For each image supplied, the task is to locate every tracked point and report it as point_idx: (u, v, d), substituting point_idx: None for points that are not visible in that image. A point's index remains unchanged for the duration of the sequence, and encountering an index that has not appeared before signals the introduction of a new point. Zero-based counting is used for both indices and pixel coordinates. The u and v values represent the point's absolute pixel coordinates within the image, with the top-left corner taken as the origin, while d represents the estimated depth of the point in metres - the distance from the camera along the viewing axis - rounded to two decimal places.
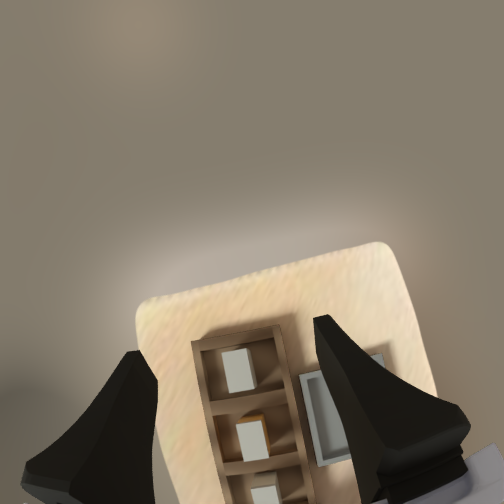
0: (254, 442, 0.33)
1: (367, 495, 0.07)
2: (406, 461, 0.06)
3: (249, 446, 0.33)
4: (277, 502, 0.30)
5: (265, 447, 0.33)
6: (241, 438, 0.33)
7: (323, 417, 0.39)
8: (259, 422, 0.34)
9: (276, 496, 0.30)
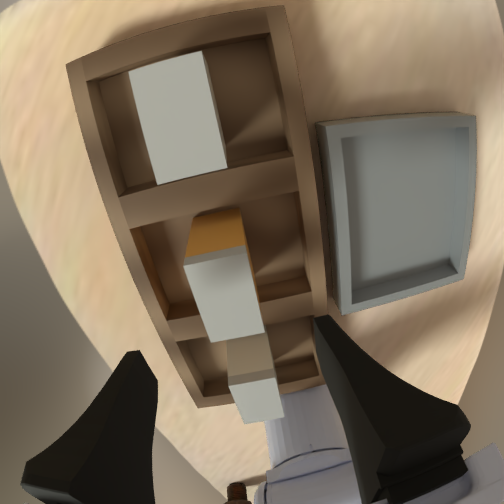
0: (231, 303, 0.16)
1: (367, 495, 0.07)
2: (406, 461, 0.06)
3: (220, 312, 0.16)
4: (277, 400, 0.20)
5: (257, 312, 0.16)
6: (200, 297, 0.16)
7: (358, 218, 0.21)
8: (242, 257, 0.15)
9: (276, 392, 0.20)
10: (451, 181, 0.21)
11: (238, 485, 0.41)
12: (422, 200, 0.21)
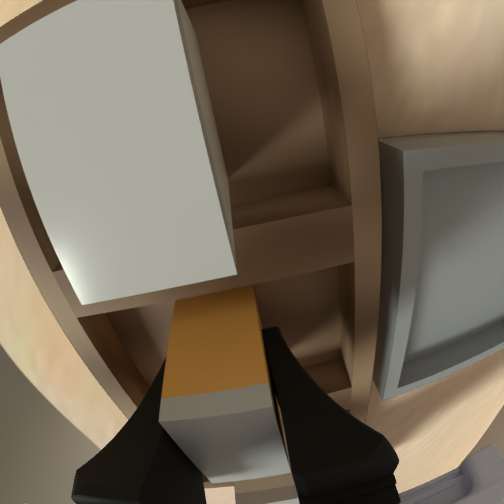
0: (243, 455, 0.09)
1: None
2: (322, 488, 0.06)
3: (225, 462, 0.09)
4: None
5: (282, 460, 0.09)
6: (192, 451, 0.08)
7: (420, 281, 0.14)
8: (265, 412, 0.07)
9: None
10: None
11: None
12: (496, 250, 0.14)
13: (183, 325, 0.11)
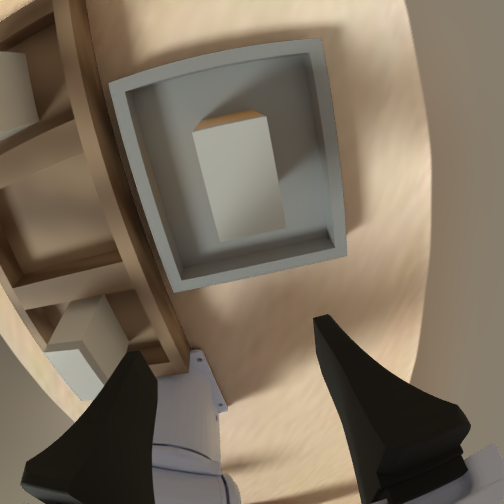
0: (247, 184, 0.13)
1: (367, 495, 0.07)
2: (406, 461, 0.06)
3: (233, 196, 0.13)
4: (95, 377, 0.18)
5: (277, 198, 0.14)
6: (209, 175, 0.13)
7: (177, 179, 0.19)
8: (262, 122, 0.12)
9: (89, 367, 0.17)
10: (307, 127, 0.18)
11: None
12: None
13: (207, 121, 0.15)
